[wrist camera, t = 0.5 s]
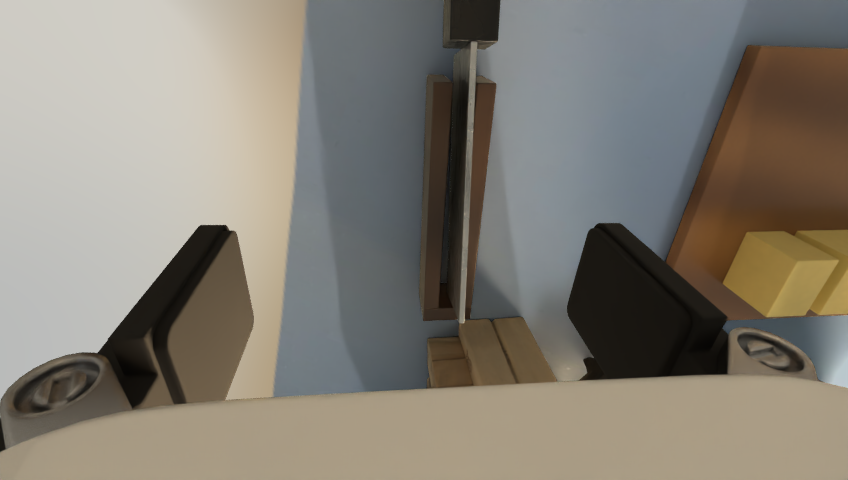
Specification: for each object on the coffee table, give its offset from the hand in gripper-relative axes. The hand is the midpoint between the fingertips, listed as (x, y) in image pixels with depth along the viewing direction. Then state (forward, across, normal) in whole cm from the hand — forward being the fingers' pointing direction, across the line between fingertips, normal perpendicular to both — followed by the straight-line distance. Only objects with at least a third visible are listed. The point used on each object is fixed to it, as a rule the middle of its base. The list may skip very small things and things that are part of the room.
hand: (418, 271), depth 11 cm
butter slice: (+14, -26, +9) cm, 31 cm away
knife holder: (+15, -3, +4) cm, 16 cm away
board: (+15, -29, +4) cm, 33 cm away
